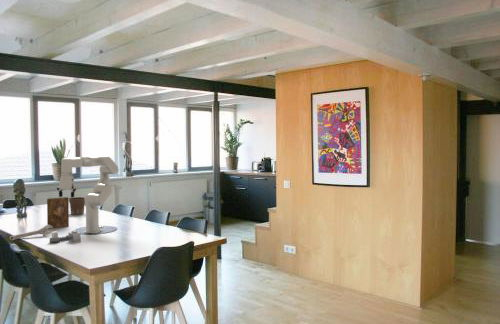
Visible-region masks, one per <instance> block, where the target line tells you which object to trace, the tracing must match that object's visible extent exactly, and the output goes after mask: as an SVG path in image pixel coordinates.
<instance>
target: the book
mask: <svg viewBox="0 0 500 324" xmlns="http://www.w3.org/2000/svg"><path fill="white" fill-rule="evenodd" d="M46 206H47V207H46V209H47V210H46V213H47V214H46V215H47V217H46V218H47V219H46V221H47V224H46V225H51V226H52V227H53V228H52V229H57V228H58V229H59V228H66V227H70V226H69V225H70V223H69V222H70V217H69V216H70V215H69V214H70V213H69V208H70V203H69V197H68V196H67V197H66V196H65V197H63V196H62V197H54V198H53V197H51V198H47V199H46ZM48 229H51V228H50V227H49V228H48Z"/></svg>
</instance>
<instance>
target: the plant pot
mask: <svg viewBox="0 0 500 324" xmlns="http://www.w3.org/2000/svg"><path fill="white" fill-rule="evenodd" d="M68 203H69V208H70V215H75V216H76V215H77V216H79V215H84V213H85V206H86V205H85V197H81V196H77V197H76V196H74V197H68Z"/></svg>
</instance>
